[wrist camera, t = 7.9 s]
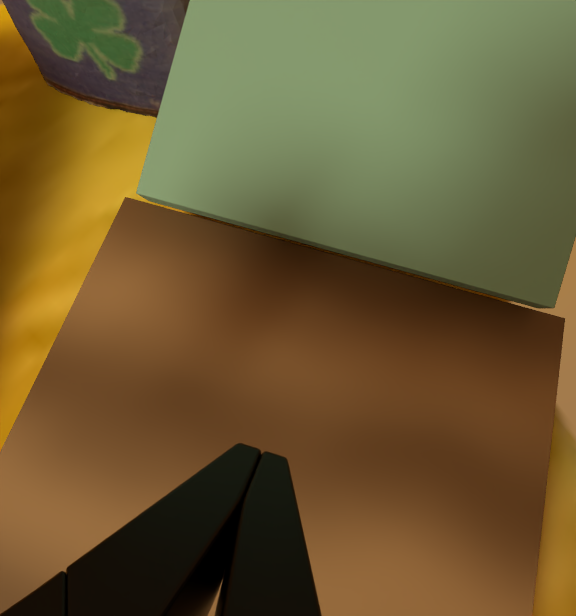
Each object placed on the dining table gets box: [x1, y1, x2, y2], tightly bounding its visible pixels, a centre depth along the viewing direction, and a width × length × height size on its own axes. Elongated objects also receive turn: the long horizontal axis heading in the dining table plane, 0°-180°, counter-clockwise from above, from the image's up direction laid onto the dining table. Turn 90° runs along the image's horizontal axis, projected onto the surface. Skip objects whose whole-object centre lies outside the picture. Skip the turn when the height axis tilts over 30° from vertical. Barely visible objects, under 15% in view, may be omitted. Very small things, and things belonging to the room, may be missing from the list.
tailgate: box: [136, 0, 576, 308], centre depth 16 cm, size 2×14×12 cm
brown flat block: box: [0, 197, 565, 616], centre depth 17 cm, size 14×16×4 cm
